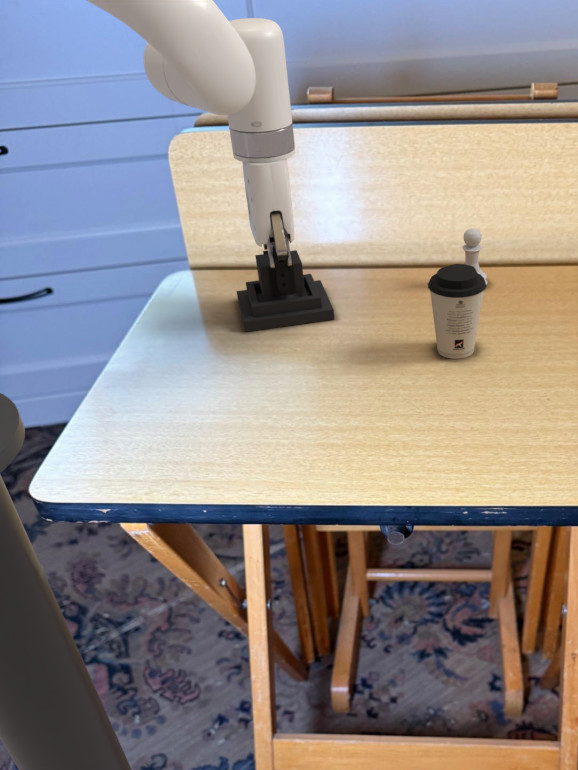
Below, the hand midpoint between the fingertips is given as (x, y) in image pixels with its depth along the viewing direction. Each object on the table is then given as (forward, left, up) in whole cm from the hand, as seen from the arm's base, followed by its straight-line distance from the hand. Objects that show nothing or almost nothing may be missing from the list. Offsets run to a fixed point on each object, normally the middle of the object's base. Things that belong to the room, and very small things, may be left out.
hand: (281, 285), depth 107 cm
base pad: (0, 0, -4) cm, 4 cm away
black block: (0, 0, 0) cm, 0 cm away
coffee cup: (+19, -18, -4) cm, 26 cm away
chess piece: (+27, 0, -4) cm, 27 cm away
